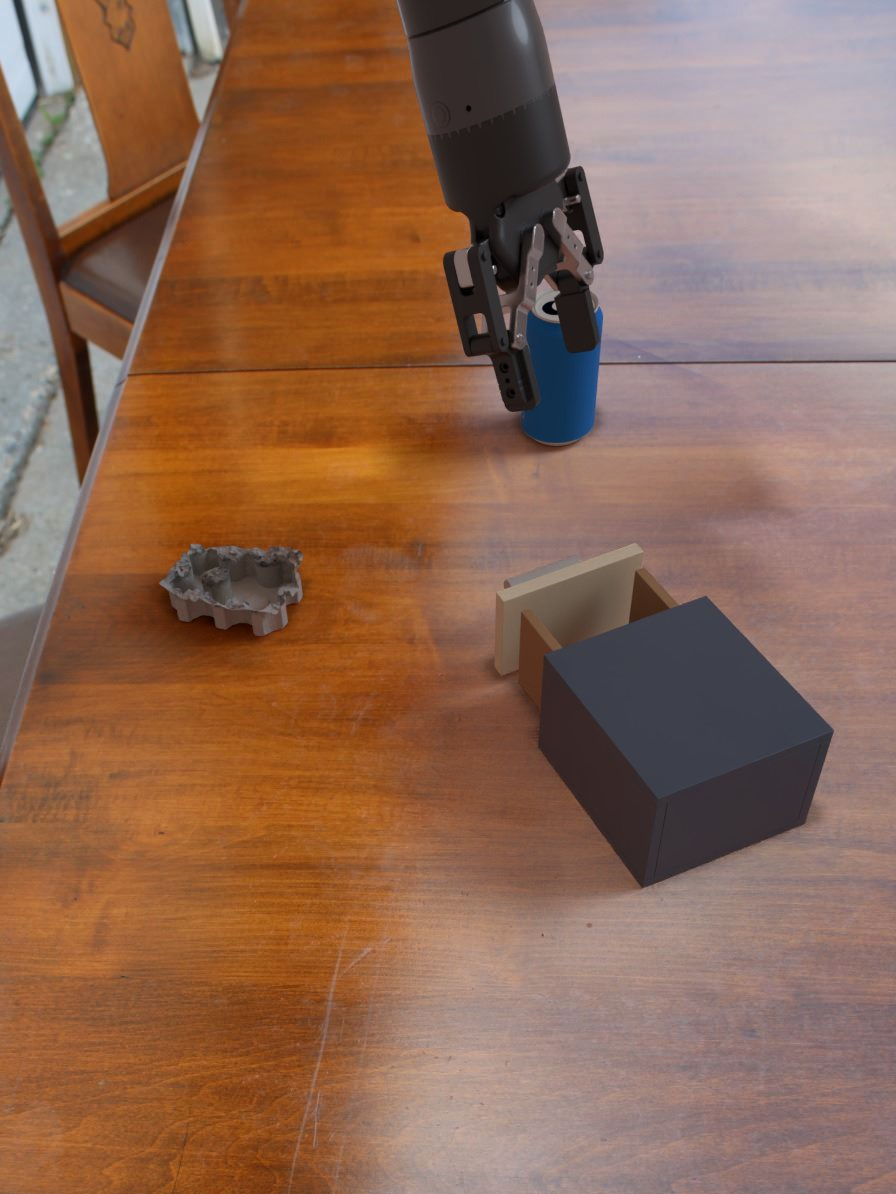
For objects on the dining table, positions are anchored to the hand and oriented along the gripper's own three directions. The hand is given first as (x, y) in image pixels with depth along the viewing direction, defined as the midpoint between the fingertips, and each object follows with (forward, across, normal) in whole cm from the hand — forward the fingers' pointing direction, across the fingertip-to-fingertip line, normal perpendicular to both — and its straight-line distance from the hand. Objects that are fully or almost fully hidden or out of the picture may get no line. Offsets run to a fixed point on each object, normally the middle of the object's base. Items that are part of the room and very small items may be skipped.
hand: (555, 378), depth 85 cm
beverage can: (+16, +29, +18) cm, 38 cm away
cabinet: (+27, -6, -5) cm, 28 cm away
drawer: (+23, 0, +3) cm, 23 cm away
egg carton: (+14, -4, +32) cm, 35 cm away
